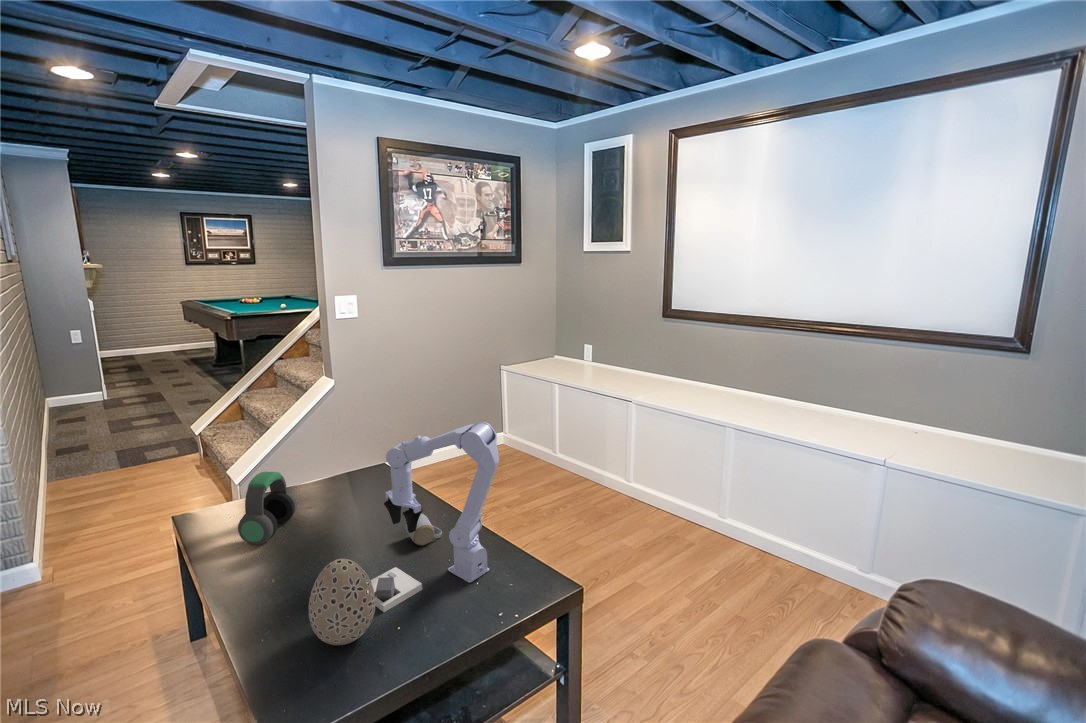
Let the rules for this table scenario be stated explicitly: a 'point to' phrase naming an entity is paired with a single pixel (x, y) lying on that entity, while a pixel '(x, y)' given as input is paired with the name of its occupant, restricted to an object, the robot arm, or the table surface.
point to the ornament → (341, 603)
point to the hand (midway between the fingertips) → (404, 527)
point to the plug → (385, 588)
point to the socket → (396, 588)
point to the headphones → (265, 508)
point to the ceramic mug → (424, 531)
